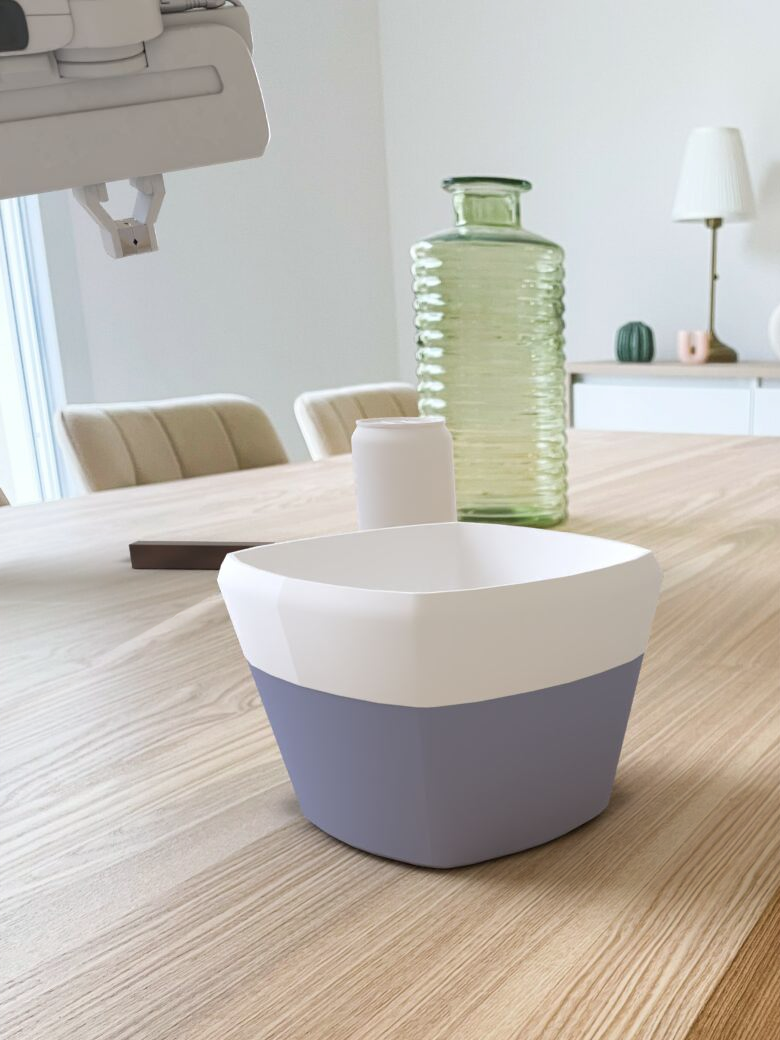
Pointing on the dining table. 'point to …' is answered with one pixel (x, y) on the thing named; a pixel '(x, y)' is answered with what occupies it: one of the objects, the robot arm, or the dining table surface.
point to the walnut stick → (184, 553)
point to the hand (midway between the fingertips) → (132, 252)
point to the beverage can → (403, 472)
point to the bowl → (446, 679)
